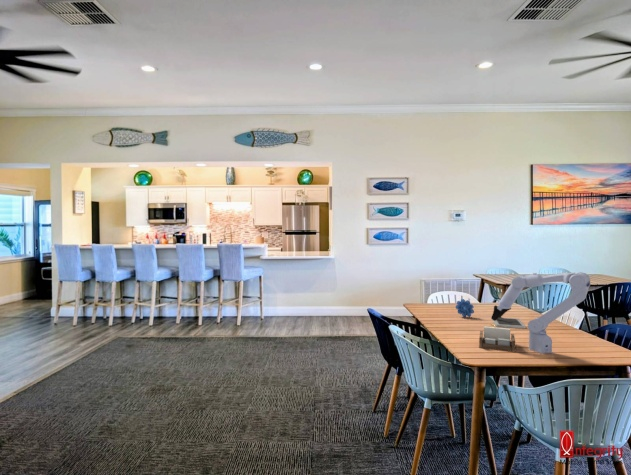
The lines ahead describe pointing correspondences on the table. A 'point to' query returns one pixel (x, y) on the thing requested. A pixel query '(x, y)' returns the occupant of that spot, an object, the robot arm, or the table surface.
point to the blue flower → (465, 308)
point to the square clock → (509, 323)
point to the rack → (496, 346)
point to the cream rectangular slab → (496, 333)
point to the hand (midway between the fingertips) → (495, 318)
